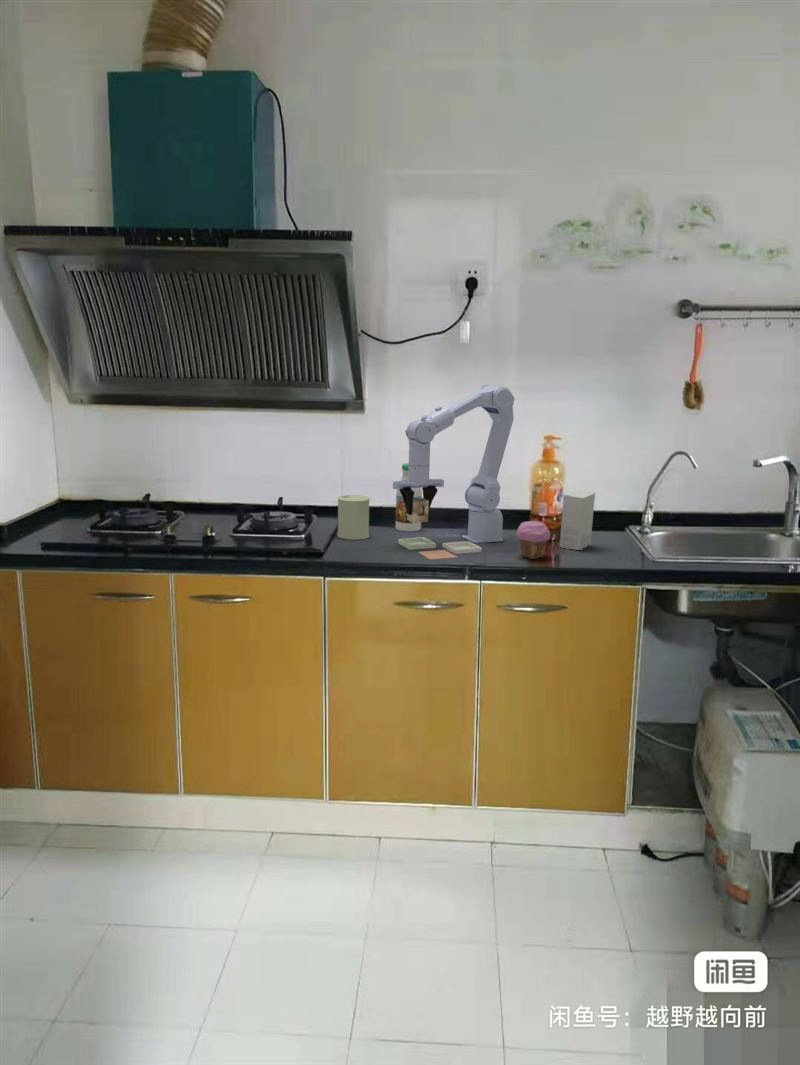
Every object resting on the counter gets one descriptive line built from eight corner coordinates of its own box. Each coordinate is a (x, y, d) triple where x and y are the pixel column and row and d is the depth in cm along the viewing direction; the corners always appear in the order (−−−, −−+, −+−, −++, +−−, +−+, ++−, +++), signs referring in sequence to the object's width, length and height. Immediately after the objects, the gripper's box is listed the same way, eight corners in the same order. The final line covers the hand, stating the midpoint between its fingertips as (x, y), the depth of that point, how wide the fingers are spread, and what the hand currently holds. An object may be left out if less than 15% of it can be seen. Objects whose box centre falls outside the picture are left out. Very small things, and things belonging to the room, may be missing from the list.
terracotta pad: (444, 551, 236) (444, 549, 236) (457, 558, 229) (457, 556, 229) (417, 553, 233) (417, 551, 233) (430, 561, 226) (430, 559, 226)
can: (347, 532, 256) (348, 492, 254) (374, 536, 252) (375, 495, 249) (331, 538, 248) (331, 497, 246) (359, 542, 244) (359, 500, 241)
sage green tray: (423, 542, 246) (424, 537, 246) (435, 548, 239) (435, 543, 238) (397, 544, 243) (398, 539, 242) (409, 550, 236) (409, 545, 235)
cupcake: (532, 563, 226) (534, 525, 224) (508, 556, 233) (510, 519, 231) (555, 558, 232) (557, 522, 230) (531, 551, 238) (533, 516, 236)
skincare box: (571, 542, 250) (574, 489, 246) (592, 546, 246) (596, 492, 243) (558, 548, 243) (562, 493, 240) (580, 552, 239) (584, 496, 236)
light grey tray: (468, 546, 243) (468, 541, 242) (481, 553, 235) (481, 547, 235) (442, 548, 239) (442, 543, 239) (455, 555, 232) (455, 549, 232)
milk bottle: (394, 527, 264) (395, 462, 260) (419, 527, 265) (421, 462, 261) (396, 532, 257) (398, 466, 252) (422, 532, 258) (424, 466, 253)
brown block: (421, 518, 242) (422, 497, 241) (428, 522, 238) (428, 500, 237) (407, 519, 240) (407, 498, 239) (413, 523, 236) (414, 501, 235)
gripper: (437, 461, 242) (435, 509, 245) (388, 463, 236) (387, 512, 239) (448, 465, 236) (446, 514, 239) (398, 467, 230) (397, 517, 233)
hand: (417, 513), depth 239 cm, fingers closed on brown block, 4 cm apart
